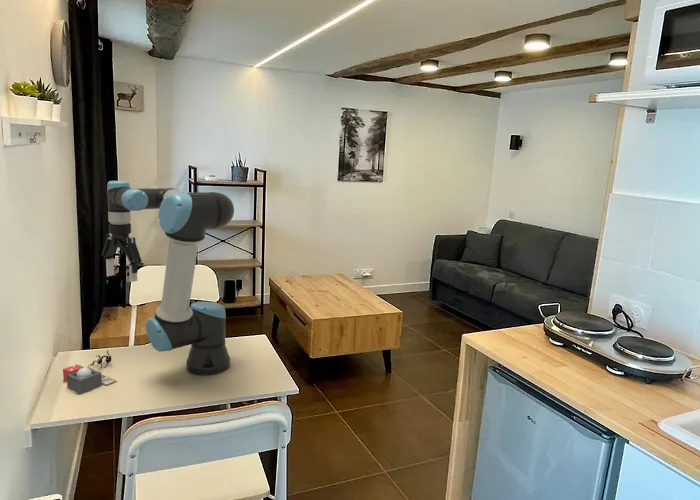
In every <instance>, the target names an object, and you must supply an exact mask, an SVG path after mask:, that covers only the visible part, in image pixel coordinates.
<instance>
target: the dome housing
mask: <svg viewBox="0 0 700 500" xmlns="http://www.w3.org/2000/svg"><path fill="white" fill-rule="evenodd" d="M86 368H89V369H90V370H91V372H92V375H90V376H87V377H84V378H82V379H81V378H78V377H77V372H78V371H76V372H73V373H70V374H68V375H67V382H66V386H67V387H66V388H67V389H68V390H70V391H72V392H74V393H77V394H79V395H83V394H85V393H88V392H90V391H93V390H95V389H98V388H100V387H102V386H103V385H102V377H101V374H102V372H100V371H99V370H95V369H93V368H91V367H88V366H87V367H86Z"/></svg>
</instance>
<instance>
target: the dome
mask: <svg viewBox="0 0 700 500" xmlns="http://www.w3.org/2000/svg"><path fill="white" fill-rule="evenodd" d="M89 368H90V367H89ZM89 368H87V367H85V368H81V369H79V370H78V372H77V377H78V378H81V379H82V378H84V377H87V376H90V375H92V372H91V370H90V369H89Z"/></svg>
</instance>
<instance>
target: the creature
mask: <svg viewBox="0 0 700 500" xmlns="http://www.w3.org/2000/svg"><path fill="white" fill-rule="evenodd" d="M106 354H107V355H102V356H100V355H99V354H98V355H95V357H96V358H98V359H97V360H96V359H95V360H93V361H92V363H90V364H89V365H88V366H87V367H89V368H91V366H97V367H98V366H99V365H100V368H98V370H99V371H101V370H102V369H103V368H104V369H106V368H107V366H108V364H109V363H111V362H112V355H110V353H109V349H107V350H106ZM104 358H105V360H104V362H103V359H104ZM105 362H106V363H105ZM95 363H97V364H95ZM103 365H104V367H103Z"/></svg>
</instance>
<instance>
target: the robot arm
mask: <svg viewBox="0 0 700 500" xmlns="http://www.w3.org/2000/svg"><path fill="white" fill-rule="evenodd" d="M106 194H107V195H106V196H107V217H108V219H107V221H108V222H109V224H108V233H105V241H104V245H103V248H102V251H101V257H104V259H105V268H106V276H107V277H111V276H115V258H114V255H115V254H116V252H117V250H118V248H119V249H121V250H122V251H124V254H125V256H126V257H127V259H128V262H130V263H129V264H128V265H129V266H128V269H129V270H128V271H129V282H130V283H134V282H138V272H139V271H138V269H139V268H138V265H139V264H142V262H143V260H142V259H141V258H142V257H141V256H140V253H139V250H138V246H137V244H136V243H137V242H136V237H135V236H134V237H130V234H131V233H132V224H131V222H132V218H131V217H132V216H131V212H132V211H133V212H140V211H142V210H158V219H159V221H158V222H159V226H160V228H161V229H162V231H164V235H165V236H166V238H167V239H168V241H169V243H168V248H167V249H168V250H167V256H166V257H167V258H166V265H165V271H164V272H165V273H164V279H163V287H162V296H161V302H160V303H161V304H159V305H158V306H157V307H156V308H155V311H154V316H152V317H149V318H148V319H146V322H145V332H146V335H147V338H148V341H149V342H150V345H151V346H152V347H153V349H154V350H155V351H156V352H160V353H162V352H167V351H168V352H169V351H172V350H175V349H179V348H183V347H187V346H190V350H189V353H188V356H187V358H186V363H185V365H186V367H185V368H186V370H187V371H188V372H189V373H191V374H195V375H200V376H201V375H203V376H206V375H207V376H208V375H209V376H210V375H215V374H216V375H217V374H220V373H222V372H224V371H227V370H228V369H229V368H230V367H231V357H230V355H229V352H228V349H227V347H226V319H227V316H226V308H225V307H224V305H222V304H221V303H216V302H211V301H196V302H193V303H191V297H192V288H193V284H194V278H195V277H194V276H195V269H196V264H197V255H198V249H199V244H200V243H201V242H203V241H204V240H205V236H206V231H209V230H218V229H220V228H224V227H225V226H227V225H229V223H230V222H231V221H232V219H233V217H234V215H235V205H234V203H233V201H232V199H231V198H230V197H229V196H227V195H225V194H224V193H221V192H216V191H209V192H207V191H205V192H201V191H199V192H196V191H195V192H189V191H184V190H180V189H179V188H175V187H168V188H161V187H160V188H132V187H131V185H130V182H129V181H127V180H109V181H108V182H107V186H106ZM190 303H191V304H190Z"/></svg>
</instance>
